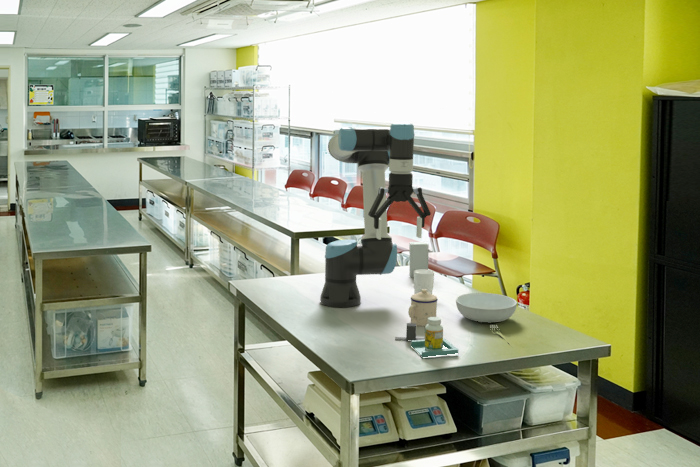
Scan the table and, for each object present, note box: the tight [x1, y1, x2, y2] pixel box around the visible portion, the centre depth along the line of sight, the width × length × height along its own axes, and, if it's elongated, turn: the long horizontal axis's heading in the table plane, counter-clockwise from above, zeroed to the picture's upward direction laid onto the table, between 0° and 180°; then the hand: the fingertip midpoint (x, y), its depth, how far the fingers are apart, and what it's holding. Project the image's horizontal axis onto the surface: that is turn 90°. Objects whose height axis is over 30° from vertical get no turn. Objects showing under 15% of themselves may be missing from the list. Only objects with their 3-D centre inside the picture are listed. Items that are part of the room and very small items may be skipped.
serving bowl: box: [455, 292, 518, 324], centre depth 248 cm, size 21×21×7 cm
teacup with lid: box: [408, 289, 438, 327], centre depth 241 cm, size 12×9×12 cm
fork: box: [489, 324, 499, 329], centre depth 227 cm, size 3×20×2 cm, turn 9°
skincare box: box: [409, 241, 429, 278], centre depth 311 cm, size 8×6×15 cm
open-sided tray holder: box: [410, 337, 459, 358], centre depth 214 cm, size 11×11×2 cm
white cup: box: [413, 269, 435, 295], centre depth 277 cm, size 8×8×10 cm
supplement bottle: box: [424, 316, 444, 351], centre depth 214 cm, size 5×5×10 cm
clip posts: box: [394, 322, 427, 342], centre depth 224 cm, size 16×3×5 cm, turn 84°
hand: (398, 238), depth 230 cm, fingers open, 13 cm apart
